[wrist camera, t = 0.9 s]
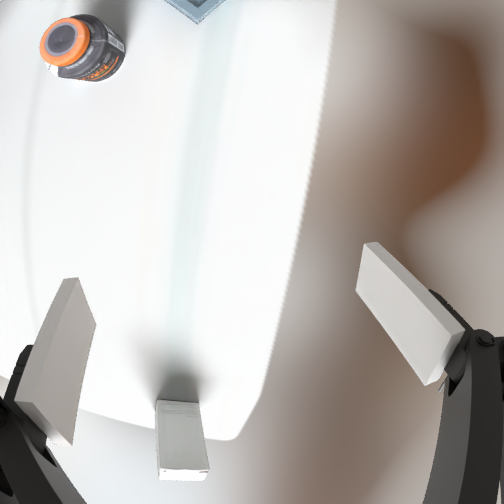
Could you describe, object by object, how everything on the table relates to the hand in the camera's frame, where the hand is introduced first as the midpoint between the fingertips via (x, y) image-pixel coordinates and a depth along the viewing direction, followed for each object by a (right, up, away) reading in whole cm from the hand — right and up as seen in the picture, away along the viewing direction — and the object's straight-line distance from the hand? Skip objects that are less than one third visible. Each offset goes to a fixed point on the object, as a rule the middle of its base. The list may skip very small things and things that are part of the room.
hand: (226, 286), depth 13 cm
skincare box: (-13, -28, +39) cm, 50 cm away
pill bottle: (-15, +22, +11) cm, 29 cm away
